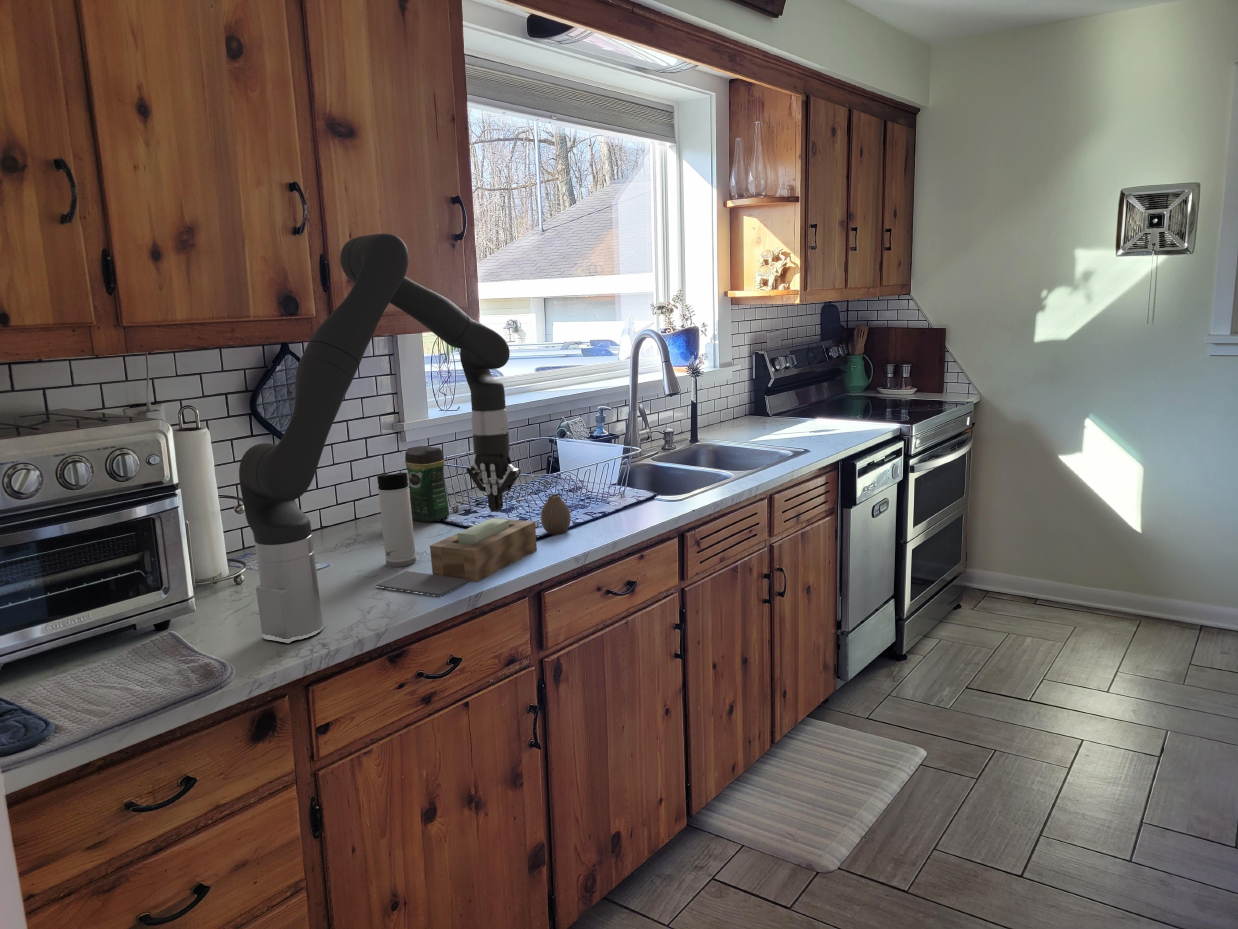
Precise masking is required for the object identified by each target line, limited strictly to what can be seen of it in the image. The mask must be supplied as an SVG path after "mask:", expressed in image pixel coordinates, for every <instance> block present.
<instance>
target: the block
mask: <svg viewBox="0 0 1238 929" xmlns="http://www.w3.org/2000/svg"><path fill="white" fill-rule="evenodd" d="M495 518H496V517H492V518H488V519H486V520H484V521H482V522H479V523H478V524H475V525H473V526H470V527H468V528H466V529H464V530H461V531H459V532H457V533H456V534H458V543H460V544H469V545H473V544H475V543H477V542H480V541H482V540H484V539H486V538H488V537H490V536H492V535H495V534H497V533H499V532H501V531H503V530H505V529H507V528H510V527H509V520H505V519H506V518H500V519H495Z"/></svg>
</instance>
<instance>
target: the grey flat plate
mask: <svg viewBox="0 0 1238 929" xmlns="http://www.w3.org/2000/svg"><path fill="white" fill-rule="evenodd" d="M468 583H470V581H469V579H463V578H455V577H448V576H440V575H433V573H424V572H415V571H411V570H410V571H409V570H405V571H403V572H401V573H399V574H397V575H394V576H391V577H390V578H388V579H385V580H383V581H382V582H379V583H377V584H375V587H376V586H379V587H384V588H391V589H396V590H403V591H410V592H418V593H423V594H429V595H435V596H434V597H436V596H442V595H444V594H446V595H448V594H449V592H450V593H451V592H453V591H456V590H458V589H459V588H461V587H463V586H465V585H466V584H467V585H468ZM447 593H448V594H447ZM423 594H422V595H423ZM429 595H428V596H429ZM444 596H445V595H444ZM442 597H443V596H442Z"/></svg>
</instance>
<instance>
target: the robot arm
mask: <svg viewBox="0 0 1238 929" xmlns="http://www.w3.org/2000/svg"><path fill="white" fill-rule="evenodd" d="M409 256H410V255H409V250H408V247H407V245H406V243H405V242H404V240H403V239H402V238H400V237H398V235H395V234H391V233H375V234H368V235H366V234H365V235H360V236H357V237H354V238H351V239H350V240H348V241H346V242H345V243H344V245H343V247H341V250H340V259H339V260H340V266H341V268H342V271H343V273H344V274H345V276H346V277H347V278H348V280H350V281H351V282H352V283H353V286H352V287H351V289H350V291H349V292H348V293H347V296H346V297H345V299H344V300H342V302H341V303H340V304H339V305H337V307H336V308H335V309H334V310H333V311H332V312H331V313H330V314H329V315H328V316H327V318H325V319H324V320H323V321H322V323H320V325H319V326H318V327H317V328H316V330H315V331H314V333H313V334H312V335H311V337H310V339H309V341H308V343H307V344H306V347H305V349H304V351H303V353H302V355H301V357H300V360H299V362H298V364H297V367H296V371H295V377H294V378H295V380H294V381H295V382H294V395H295V396H294V408H293V413H292V416H291V418H290V421H289V422H288V425H287V427H286V428H285V431H284V433H283V436H282V437H281V439H280V440H279V442H278V443H271V442H270V443H269V442H262V443H258V444H254V445H252V446H250V447H249V448H248V449H247V450H246V451H245V452H244V454H243V456H242V458H241V459H240V463H239V468H238V480H239V487H240V493H241V499H242V503H243V509H244V515H245V519H246V521H247V524H248V526H249V528H250V530H251V532H252V534H253V538H254V539H253V540H254V548H255V554H256V562H257V569H258V570H257V571H258V575H259V576H258V577H259V585H257V586H256V587H255V591H256V592H255V593H256V598H257V599H256V600H257V606H258V614H259V619H260V629H261V634H265V635H271V636H275V637H279V638H282V639H290V638H292V637H297V636H303V635H307V634H310V633H312V632H314V631H317V630H319V629H320V628H321V627H322V626H323V627H324V622H323V615H322V614H323V612H322V605H321V597H320V591H319V580H318V572H317V565H316V564H317V563H316V557H315V548H314V540H313V531H312V525H311V520H310V518H309V516H307V515H306V514H305V512H303V511H302V510H301V509H300V508H299V506H298V504H297V503H296V500H297V499H299V498H300V497H302V496H303V495H304V494H305V492H307V491H308V489H309V487H310V486H311V485H312V482H313V480H314V478H315V474H316V472H317V469H318V466H319V463H320V460H321V457H322V454H323V451H324V449H325V446H326V445H325V444H326V442H327V438H328V436H329V433H330V431H331V428H332V426H333V424H334V423H335V422H334V421H335V419H336V417H337V415H338V412H339V410H340V408H341V405H342V403H343V401H344V399H345V397H346V394H347V392H348V390H349V388H350V387H351V384H352V383H353V381H354V378H355V375H356V373H357V371H358V369H359V367H360V365H361V362H362V360H363V357H364V354H365V353H366V350H367V348H368V346H369V345H370V343H371V342H370V341H372V337H373V336H374V333H375V332H376V330H377V327H378V325H379V322H380V320H381V318H382V316H383V314H384V313H385V312H386V309H387V307H388V306H389V304H391V305H392V306H394V307H395V308H398V309H399V310H400V311H402V312H403V313H405V314H406V315H408V316H410V318H413V319H414V320H415V321H417V322H418V323H420V324H421V325H422V326H424V328H426V329H428V330H429V331H430V332H432V334H434V335H435V336H437V337H438V338H439V339H441V341H443V342H444V343H445V344H447V345H448V346H450V347H451V348H456V349H459V350H460V351H459V358H460V363H461V367H462V370H463V373H464V376H465V379H466V382H467V385H468V387H469V390H470V402H471V403H470V404H471V431H472V433H471V434H472V443H473V453H474V454H475V458H474V463H473V464H472V465H471V466H469V467H466V469H465V470H466V473H467V474H468V476H469V477H470V478H471V480H472V481H473V483H474V484H475V486H476V488H478V490H479V491H480V492H484V493H486V494H487V504H488V509H489V510H490V512H493V513H494V512H495V513H498V512H501V511H502V510H503V508H504V499H503V498H504V497H503V493H505V492H508V491H510V490H511V489H512V487H513V485H514V484H515V483H516V481H517V479H518V478H519V476H520V474H521V472H522V470H521V469H520V468H518V467H517V468H516V467H515V466H514V465H513V464H512V460H511V458H510V450H511V447H510V435H509V434H510V433H509V419H508V414H507V409H506V407H507V406H506V394H505V393H506V392H505V386H504V383H503V382H502V381H500V380H498V379H495V378H494V377H493V375H492V373H491V371H490V370H497V369H501V368H503V367H504V366H506V364H507V363H508V361H509V359H510V357H511V356H510V355H511V352H510V348H509V344H508V342H507V341H506V339H505V338H504V337H503V336H502V335H501V334H500V333H498V332H497V331H495V330H494V329H492V328H489V327H488V326H486V325H484V324H482V323H480V322H478V321H476V320H474V319H472V318H471V317H470V316H469V315H468V313H466V312H465V311H463V310H462V309H461V308H460V307H459V306H458V305H456V304H455V303H454V302H453V301H451V300H450V299H449V298H446V297H445V296H443V295H441V294H440V293H437V292H436V291H433V290H431V289H430V288H428V287H425V286H423V285H421V284H419V283H418V282H416V281H413V280H412V279H411V278H410V277H407V276H406V275H407V272H408V269H409V260H410V258H409Z"/></svg>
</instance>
